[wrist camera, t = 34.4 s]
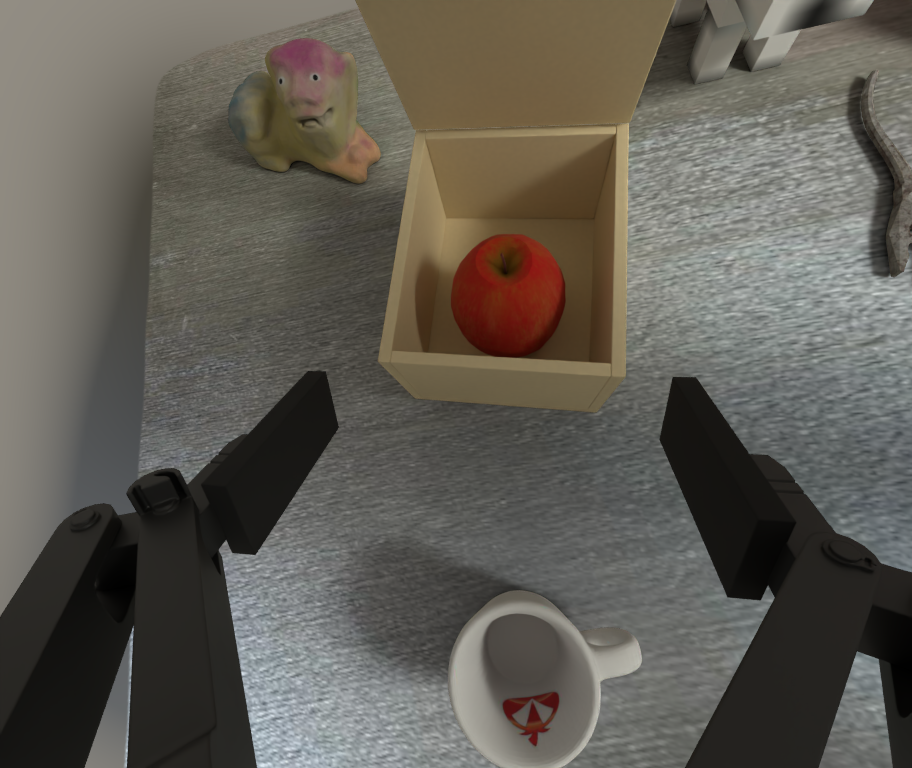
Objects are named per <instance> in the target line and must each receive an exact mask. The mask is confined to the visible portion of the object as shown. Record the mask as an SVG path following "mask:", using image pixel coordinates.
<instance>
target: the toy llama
mask: <svg viewBox="0 0 912 768" xmlns="http://www.w3.org/2000/svg"><path fill="white" fill-rule="evenodd" d="M706 1H707V3H708V5H709V8H708V11H707V13H706V16H705V18H704V21H703V24H702V26H701V29H700V32H699V34H698V37H697V40H696V42H695V45H694V48H693V50H692V53H691V56H690V58H689V61H688V64H687V66H688V68H689V71H690V74H691V76H692V79H693V82H694V84H699V83H703V82H708V81H712V80H717V79H721V78H723V76H724V74H725V72H726V70H727V68H728V66H729V64H730V61H731V59H732V57H733V55H734V53H735V51H736V49H737V47H738V45H739V42H740V40H741V38H742V36H743V34H744V32H745V30H746V28H748V30H749V32H750V34H751V35H750V38H749V40H748V42H747V44H746V46H745V48H744V50H743V54H744V57H745V59H746V61H747V64H748V66H749V68H750V71H751V72H752V71H757V70H761V69H766V68H770V67H775V66H779V65H780V64H781V62H782V61H783V59H784V57H785V56H786V54H787V52H788V51H789V49H790V47H791V45H792V44H793V42H794V40H795V39H796V37H797V35H798V34H799V32H800V30H801V29H805V28H809V27H814V26H818V25H822V24H826V23H831V22H835V21H839V20H844V19H848V18H852V17H857V16H861V15H864V14H865V12H866V11H867V10H868V8H869V7H870V5H871V4H872V2H873V1H874V0H676V3H675V5H674V8H673V11H672V13H671V16H670V21H671V24H672V26H673V27H675V26H679V25H684V24H688V23H692V22H696V21H699V20H700V18H701V15H702V12H703V9H704V7H705V4H706Z"/></svg>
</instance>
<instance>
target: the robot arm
mask: <svg viewBox="0 0 912 768" xmlns="http://www.w3.org/2000/svg"><path fill="white" fill-rule="evenodd" d="M338 428H339V426H338V422H337V418H336V413H335V409H334V405H333V401H332V396H331V392H330V388H329V384H328V379H327V375H326V371H308V372H307V373H306V374H305V375H304V376H303V377H302V378H301V379H300V380H299V381H298V382H297V383H296V384H295V385H294V386H293V387H292V389H291V390H290V391H289V392H288V393H287V394H286V395H285V396H284V397H283V398H282V399H281V400H280V401H279V402H278V403H277V404H276V405H275V406H274V408H273V409H272V410H271V411H270V412H269V413H268V414H267V415H266V416H265V417H264V418H263V419H262V420H261V421H260V422H259V423H258V424H257V426H256V427H255V428H254V429H253V430H252V431H251V432H250V433H249V434H242V435H241V436H239V437H237V438H236V439H234V440H232V441H231V442H229V443H228V444H227V445H226V446H225V447H224V448H223V449H222V450H221V451H220V452H219V455H216V456H215V457H214V458H213V459H212V460H211V463H208V464H207V465H206V466H205V467H204V468H203V469H202V470H201V471H200V472H199V473H198V474H197V476H196V477H195V478H194V479H193V480H192V481H191V482H190V483H189V484H188V485H187V484H186V482H185V480H184V478H183V476H182V474H181V472H180V471H179V470H177V469H174V468H165V469H161V470H157V471H154V472H151V473H149V474H147V475H144V476H143V477H141V478H140V479H138V480H137V481H135V482H134V483H133V484H132V486H130V487H129V489H128V491H127V496H128V498H129V500H130V501H131V503H132V505H133V506H134V508H135V510H136V512H135V513H129V514H124V515H117V513H116V512H115V510H114V509H113V507H112V506H111V505H109V504H104V503H103V504H95V505H92V506H89V507H85V508H83V509H80V510H79V511H77V512H75V513H73V514H72V515H70V516H69V517H68V518H66V519H65V520H64V521H63V522H62V523H61V524H60V525H59V526H58V527H57V529H56V530H55V532H54V534H53V535H52V537H51V538H50V540H49V541H48V543H47V544H46V546H45V547H44V549H43V551H42V552H41V554H40V555H39V557H38V558H37V560H36V562H35V563H34V565H33V566H32V568H31V570H30V571H29V572H28V574H27V576H26V577H25V579H24V580H23V582H22V583H21V585H20V587H19V588H18V590H17V591H16V593H15V595H14V596H13V598H12V599H11V601H10V602H9V604H8V605H7V607H6V608H5V610H4V612H3V613H2V615H1V617H0V768H84V767H85V764H86V761H87V758H88V756H89V753H90V750H91V747H92V744H93V741H94V738H95V735H96V733H97V729H98V727H99V724H100V721H101V718H102V715H103V712H104V709H105V707H106V704H107V700H108V698H109V695H110V692H111V689H112V686H113V683H114V681H115V678H116V675H117V672H118V669H119V666H120V663H121V660H122V657H123V654H124V651H125V648H126V646H127V643H128V640H129V637H130V634H131V631H132V628H133V626H134V634H133V654H132V675H131V695H130V716H129V737H128V757H127V768H257V765H256V759H255V753H254V747H253V741H252V735H251V729H250V723H249V717H248V711H247V705H246V699H245V693H244V687H243V681H242V675H241V669H240V663H239V657H238V651H237V645H236V639H235V633H234V627H233V621H232V615H231V609H230V603H229V597H228V591H227V585H226V579H225V573H224V567H223V561H222V556H221V554H220V552H219V548H220V547H221V546H222V544H223V543H224V542H225V540H227V542H228V544H229V547H230V549H231V551H232V553H239V554H250V555H256V553H257V552H258V550H259V549H260V547H261V546H262V544H263V543H264V541H265V540H266V538H267V537H268V535H269V533H270V532H271V530H272V529H273V527H274V526H275V524H276V523H277V521H278V520H279V518H280V517H281V515H282V514H283V512H284V511H285V509H286V508H287V506H288V504H289V503H290V501H291V500H292V498H293V497H294V495H295V494H296V492H297V491H298V489H299V488H300V486H301V485H302V483H303V482H304V480H305V479H306V477H307V475H308V474H309V472H310V471H311V469H312V468H313V466H314V465H315V463H316V462H317V460H318V459H319V457H320V456H321V454H322V453H323V451H324V450H325V448H326V446H327V445H328V443H329V442H330V440H331V439H332V437H333V436H334V434H335V433H336V431H337V430H338ZM660 442H661V444H662V446H663V449H664V451H665V453H666V456H667V458H668V460H669V463H670V465H671V467H672V470H673V472H674V474H675V477H676V479H677V481H678V483H679V486H680V488H681V490H682V493H683V495H684V497H685V500H686V502H687V504H688V507H689V509H690V511H691V514H692V516H693V518H694V521H695V523H696V525H697V527H698V530H699V532H700V534H701V537H702V539H703V541H704V544H705V546H706V548H707V551H708V553H709V555H710V558H711V560H712V562H713V565H714V567H715V569H716V571H717V574H718V576H719V578H720V581H721V583H722V585H723V588H724V590H725V592H726V595H727V597H730V598H741V599H752V600H761V599H762V596H763V594H764V592H765V590H766V588H767V586H769V588H770V589H771V591H772V593H773V595H774V597H775V599H774V601H773V603H772V604H771V606H770V608H769V610H768V612H767V614H766V616H765V618H764V620H763V621H762V623H761V625H760V627H759V629H758V631H757V633H756V635H755V637H754V638H753V640H752V642H751V644H750V646H749V648H748V650H747V652H746V654H745V655H744V657H743V659H742V661H741V663H740V665H739V667H738V669H737V670H736V672H735V674H734V676H733V678H732V680H731V682H730V684H729V686H728V687H727V689H726V691H725V693H724V695H723V697H722V699H721V701H720V703H719V704H718V706H717V708H716V710H715V712H714V714H713V716H712V718H711V720H710V721H709V723H708V725H707V727H706V729H705V731H704V733H703V735H702V736H701V738H700V740H699V742H698V744H697V746H696V748H695V750H694V752H693V753H692V755H691V757H690V759H689V761H688V763H687V765H686V767H685V768H818V767H819V764H820V761H821V758H822V755H823V752H824V749H825V746H826V743H827V740H828V737H829V734H830V731H831V728H832V725H833V722H834V719H835V716H836V713H837V710H838V707H839V704H840V701H841V698H842V695H843V692H844V689H845V686H846V683H847V680H848V677H849V673H850V670H851V667H852V664H853V661H854V658H855V655H856V652H857V651H858V652H861V653H864V654H866V655H869V656H872V657H875V658H878V659H879V665H880V672H881V680H882V688H883V695H884V703H885V710H886V718H887V726H888V733H889V741H890V749H891V756H892V764H893V768H912V572H908V571H905V570H901V569H898V568H894V567H891V566H887V565H884V564H881V563H880V562H879V560H878V559H877V557H876V556H875V555H874V554H873V553H872V552H871V551H869V550H868V549H867V548H866V547H865V546H863V545H862V544H860V543H858V542H856V541H854V540H853V539H851V538H848V537H845V536H843V535H840V534H837V533H835V531H834V530H833V529H832V527H831V526H830V525H829V524H828V522H827V521H826V520H825V518H824V517H823V516H822V515H821V513H820V512H819V511H818V509H817V508H816V507H815V506H814V504H813V503H812V502H811V500H810V499H809V498H808V497H807V495H806V494H804V491H803V490H802V489H801V487H800V486H799V485H798V484H797V483H795V480H794V478H793V477H792V476H791V475H790V473H789V472H788V471H787V469H786V468H785V467H784V466H782V465H781V464H780V463H778V462H777V461H775V460H774V459H773V458H771V457H770V456H768V455H753V454H749V453H748V451H747V450H746V448H745V447H744V446H743V444H742V443H741V441H740V440H739V438H738V437H737V436H736V434H735V433H734V431H733V430H732V428H731V427H730V425H729V424H728V423H727V421H726V420H725V418H724V417H723V415H722V414H721V413H720V411H719V410H718V408H717V407H716V405H715V404H714V402H713V401H712V400H711V398H710V397H709V395H708V394H707V392H706V391H705V390H704V388H703V387H702V385H701V384H700V382H699V381H698V379H697V378H696V377H673V379H672V384H671V388H670V393H669V398H668V402H667V407H666V412H665V416H664V421H663V426H662V431H661V435H660Z"/></svg>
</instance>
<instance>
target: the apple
mask: <svg viewBox="0 0 912 768" xmlns="http://www.w3.org/2000/svg"><path fill="white" fill-rule="evenodd" d="M565 303H566V298H565V281H564V277H563V274H562V271H561V269H560V267H559V265H558V264H557V262H556V260H555V259H554V257H553V256H552V254H551V253H550V252H549V250H548V249H547V248H546V247H545V246H543V245H542V244H541V243H540V242H538V241H536V240H534V239H532V238H529V237H527V236H525V235H523V234H497V235H494V236H491V237H489V238H487V239H485V240H483V241H482V242H480V243H479V244H478V245H477V246H475V247H474V248H473V249H472V250H471V251H470V252H469V253H468V254H467V255H466V257H465V258H464V259H463V260H462V261H461V262H460V264H459V266H458V269H457V271H456V273H455V276H454V278H453V284H452V291H451V308H452V312H453V316H454V319H455V321H456V323H457V325H458V327H459V329H460V330H461V332H462V334H463V335H464V337H465V338H466V339H467V340H468V342H469V343H470V344H472V345H473V346H474V347H476V348H477V349H478V350H480V351H482V352H483V353H485V354H489V355H492V356H495V357H509V358H518V357H523V356H527V355H529V354H531V353H533V352H535V351H537V350H539V349H541V348H542V347H543V345H544V344H545V343H546V342H547V341H548V340H549V339H550V338H551V337H552V335H553V333H554V332H555V330H556V328H557V326H558V324H559V322H560V319H561V317H562V314H563V311H564V307H565Z"/></svg>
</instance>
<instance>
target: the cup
mask: <svg viewBox="0 0 912 768" xmlns="http://www.w3.org/2000/svg"><path fill="white" fill-rule="evenodd" d="M641 662H642V656H641V650H640V647H639V644H638V641H637V640H636V638H635V637H634V636H633V635H632V634H631V633H630V632H628V631H626V630H623V629H620V628H612V627H607V628H597V629H590V630H584V631H578V629H577V628H576V627H575V626H574V625H573V624H572V623H571V622H570V621H569V620H568V619H567V618H566V616H565V615H564V614H563V613H562V612H561V611H560V610H559V609H558V608H557V607H556V606H555V605H554V604H553V603H551V602H550V601H549V600H547V599H546V598H544V597H542V596H540V595H538V594H536V593H533V592H529V591H523V590H515V591H509V592H505V593H502V594H500V595H498V596H496V597H494V598H493V599H492V600H490V601H489V602H488V603H487V604H486V605H485V606H483V607H482V608H481V609H480V610H479V611H478V612H477V613H476V614H475V615H474V616H473V617H472V618H471V619H470V620H469V621H468V622H467V623H466V625H465V626H464V627H463V629H462V630H461V632H460V634H459V635H458V637H457V639H456V641H455V644H454V646H453V649H452V653H451V656H450V661H449V668H448V690H449V697H450V702H451V706H452V709H453V712H454V715H455V718H456V720H457V722H458V724H459V726H460V728H461V730H462V732H463V733H464V735H465V736H466V738H467V739H468V741H469V742H470V743H471V744H472V746H473V747H474V748H475V749H476V750H477V751H478V752H479V753H480V754H481V755H483V756H484V757H485V758H486V759H487V760H489V761H490V762H492V763H493V764H495V765H497V766H499V767H501V768H560V767H562V766H564V765H566V764H567V763H569V762H570V761H571V760H573V759H574V758H575V757H576V756H577V755H578V754H579V753H580V752H581V751H582V750H583V748H584V747H585V746H586V744H587V743H588V741H589V739H590V737H591V736H592V734H593V731H594V729H595V726H596V723H597V719H598V716H599V710H600V700H601V690H600V682H601V681H602V680H604V679H608V678H613V677H618V676H622V675H626V674H629V673H632V672H634V671H635V670H637V669H638V668H639V667H640V665H641Z"/></svg>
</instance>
